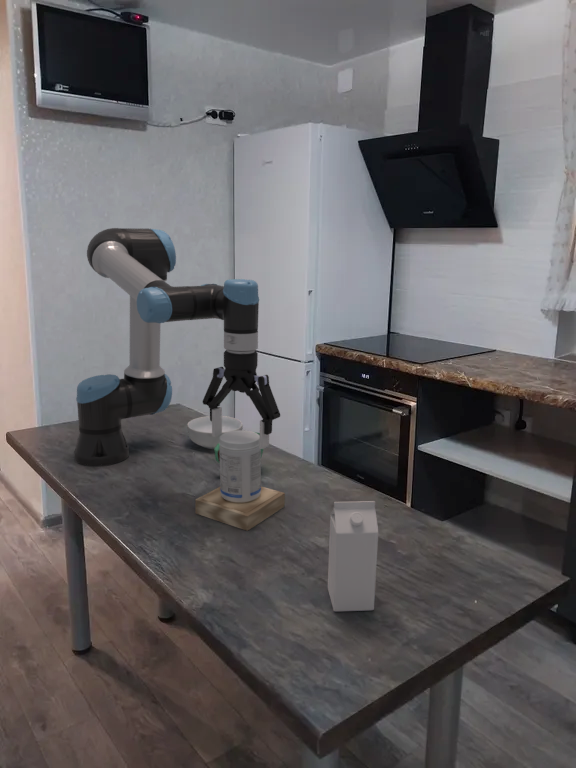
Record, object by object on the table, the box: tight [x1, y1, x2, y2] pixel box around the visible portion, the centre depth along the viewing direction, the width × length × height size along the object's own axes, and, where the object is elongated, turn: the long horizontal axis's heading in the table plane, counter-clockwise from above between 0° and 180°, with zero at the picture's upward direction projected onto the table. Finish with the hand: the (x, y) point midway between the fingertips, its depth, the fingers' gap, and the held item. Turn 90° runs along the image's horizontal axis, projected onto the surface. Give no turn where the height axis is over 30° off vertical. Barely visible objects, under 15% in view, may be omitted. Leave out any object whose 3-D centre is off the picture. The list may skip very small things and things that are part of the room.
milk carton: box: [327, 500, 379, 612], centre depth 105 cm, size 7×7×19 cm
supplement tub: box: [219, 429, 262, 503], centre depth 140 cm, size 10×10×15 cm
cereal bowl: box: [186, 415, 244, 450], centre depth 185 cm, size 17×17×7 cm
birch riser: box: [194, 485, 286, 532], centre depth 142 cm, size 15×15×4 cm
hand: (239, 441), depth 138 cm, fingers open, 13 cm apart
